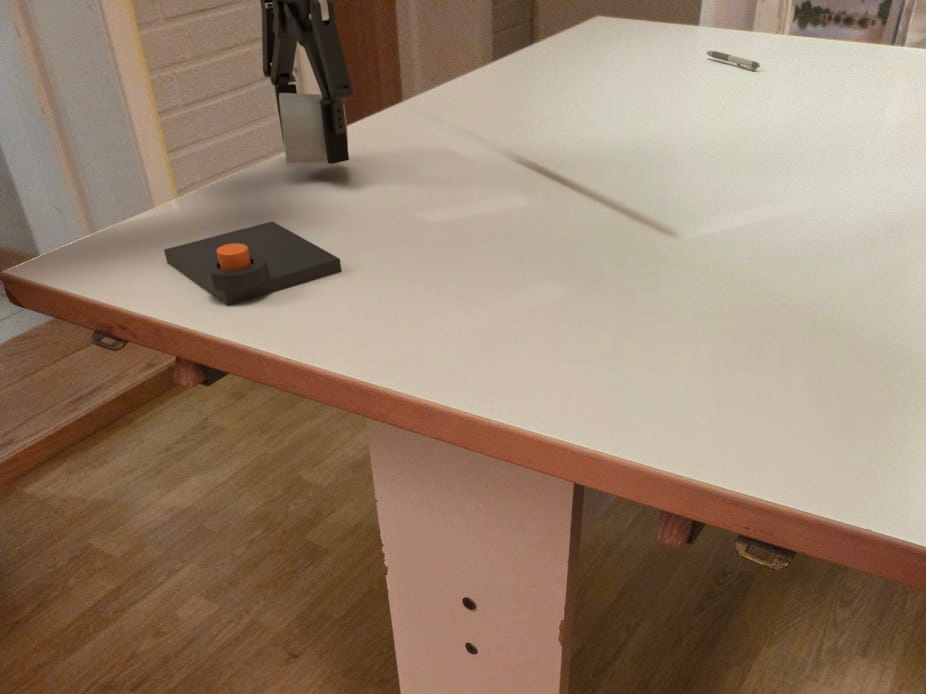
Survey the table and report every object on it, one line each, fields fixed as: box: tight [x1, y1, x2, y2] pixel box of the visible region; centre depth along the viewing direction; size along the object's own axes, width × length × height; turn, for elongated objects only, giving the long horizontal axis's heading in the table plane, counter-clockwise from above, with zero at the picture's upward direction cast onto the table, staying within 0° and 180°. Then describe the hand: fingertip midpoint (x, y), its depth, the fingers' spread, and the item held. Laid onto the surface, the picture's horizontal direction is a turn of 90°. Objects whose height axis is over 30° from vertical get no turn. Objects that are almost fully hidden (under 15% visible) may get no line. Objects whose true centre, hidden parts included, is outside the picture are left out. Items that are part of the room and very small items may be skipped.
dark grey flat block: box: [163, 220, 342, 307], centre depth 91 cm, size 16×14×3 cm
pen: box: [706, 50, 761, 71], centre depth 153 cm, size 1×14×1 cm, turn 29°
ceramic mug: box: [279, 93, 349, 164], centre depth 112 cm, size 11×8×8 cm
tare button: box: [217, 243, 251, 271], centre depth 85 cm, size 3×3×2 cm
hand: (315, 151), depth 114 cm, fingers closed on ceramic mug, 11 cm apart
